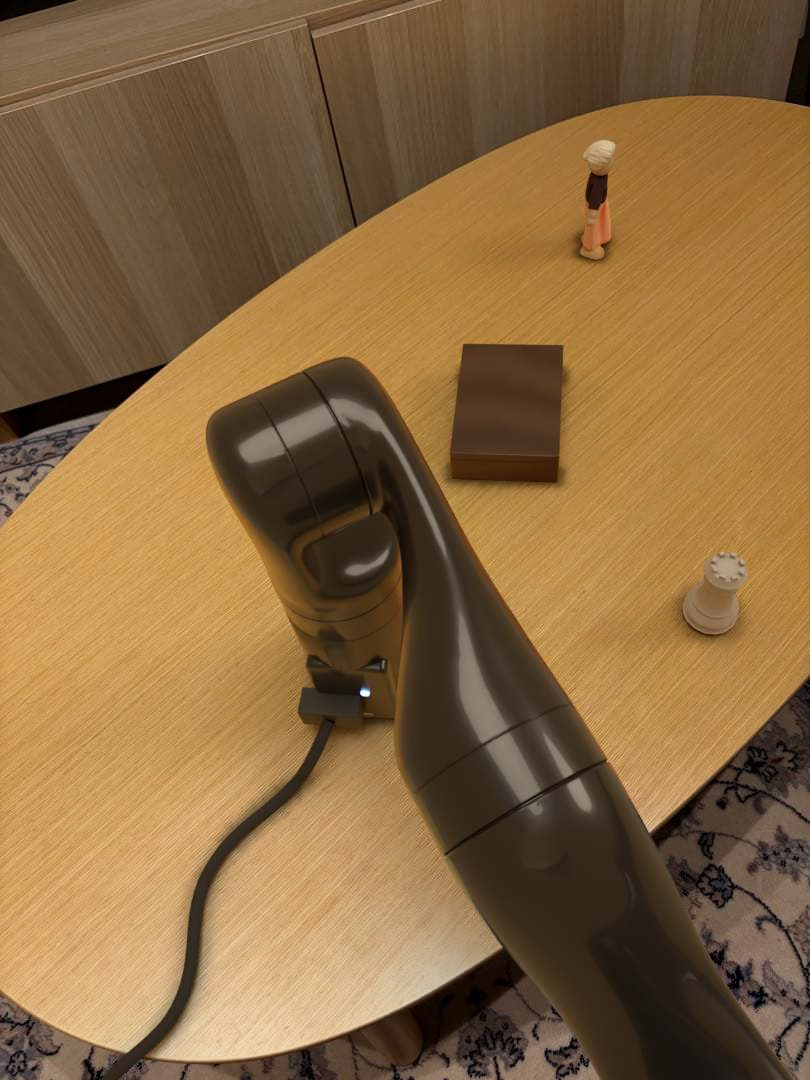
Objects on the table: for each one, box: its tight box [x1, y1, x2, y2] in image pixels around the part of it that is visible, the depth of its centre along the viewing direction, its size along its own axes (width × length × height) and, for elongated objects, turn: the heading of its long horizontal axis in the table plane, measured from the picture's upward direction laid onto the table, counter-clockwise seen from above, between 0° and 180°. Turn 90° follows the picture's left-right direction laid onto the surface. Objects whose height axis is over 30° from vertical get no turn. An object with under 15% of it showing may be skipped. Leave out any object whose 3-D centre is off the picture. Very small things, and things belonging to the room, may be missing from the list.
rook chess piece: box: [682, 550, 749, 635], centre depth 70 cm, size 4×4×8 cm
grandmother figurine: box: [579, 139, 616, 260], centre depth 94 cm, size 8×4×13 cm, turn 179°
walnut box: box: [449, 343, 564, 483], centre depth 85 cm, size 14×10×4 cm
